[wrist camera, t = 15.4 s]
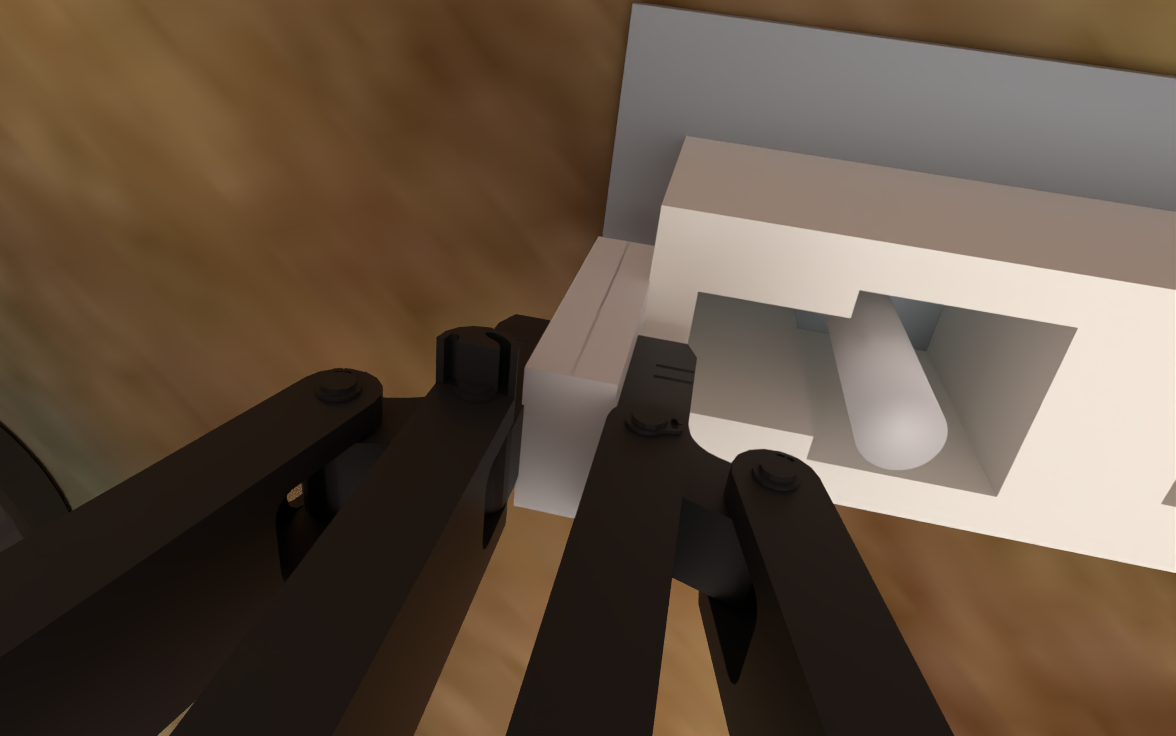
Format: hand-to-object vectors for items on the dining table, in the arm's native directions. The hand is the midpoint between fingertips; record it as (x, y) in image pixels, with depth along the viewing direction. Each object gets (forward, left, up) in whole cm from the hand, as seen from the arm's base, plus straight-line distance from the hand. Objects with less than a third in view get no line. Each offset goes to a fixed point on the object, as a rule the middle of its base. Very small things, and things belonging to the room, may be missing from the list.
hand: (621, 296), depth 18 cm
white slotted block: (+12, 0, -5) cm, 13 cm away
